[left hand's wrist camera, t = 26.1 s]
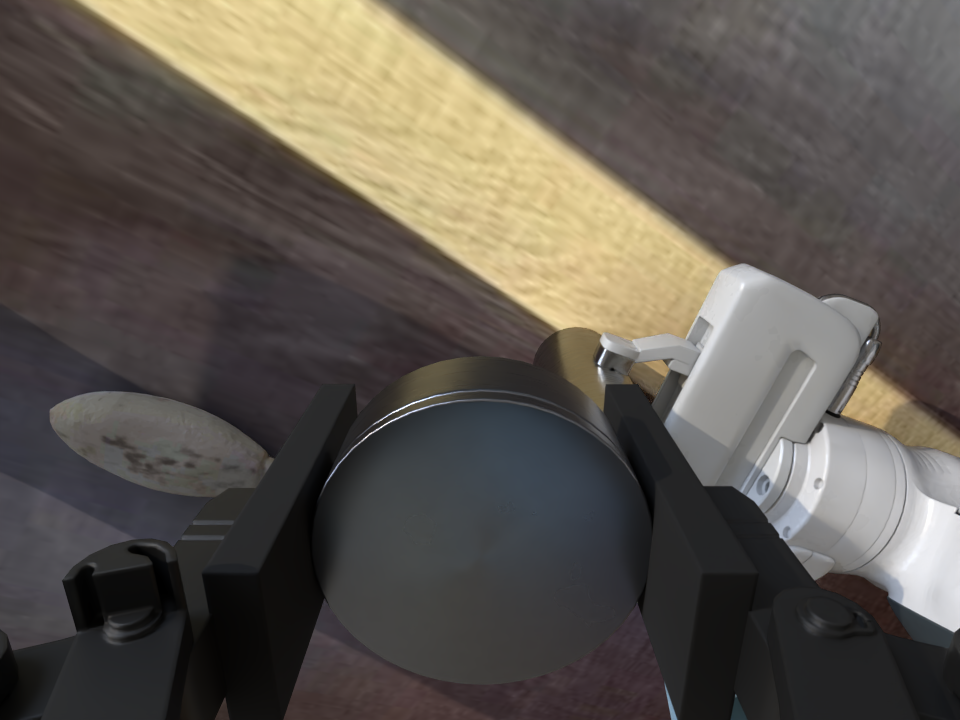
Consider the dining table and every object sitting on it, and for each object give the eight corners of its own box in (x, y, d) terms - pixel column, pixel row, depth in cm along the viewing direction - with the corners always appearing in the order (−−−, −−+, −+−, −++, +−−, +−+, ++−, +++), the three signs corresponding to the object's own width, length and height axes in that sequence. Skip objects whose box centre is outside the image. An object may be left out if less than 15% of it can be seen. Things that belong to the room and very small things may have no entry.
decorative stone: (287, 504, 43) (270, 533, 40) (67, 443, 42) (31, 468, 38) (305, 430, 41) (289, 455, 38) (74, 363, 40) (38, 383, 36)
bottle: (527, 334, 39) (550, 458, 23) (611, 321, 38) (690, 438, 23) (539, 409, 40) (566, 571, 25) (619, 397, 40) (697, 554, 25)
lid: (330, 591, 13) (304, 669, 11) (344, 336, 11) (316, 377, 9) (595, 619, 13) (615, 699, 11) (656, 374, 11) (692, 423, 9)
